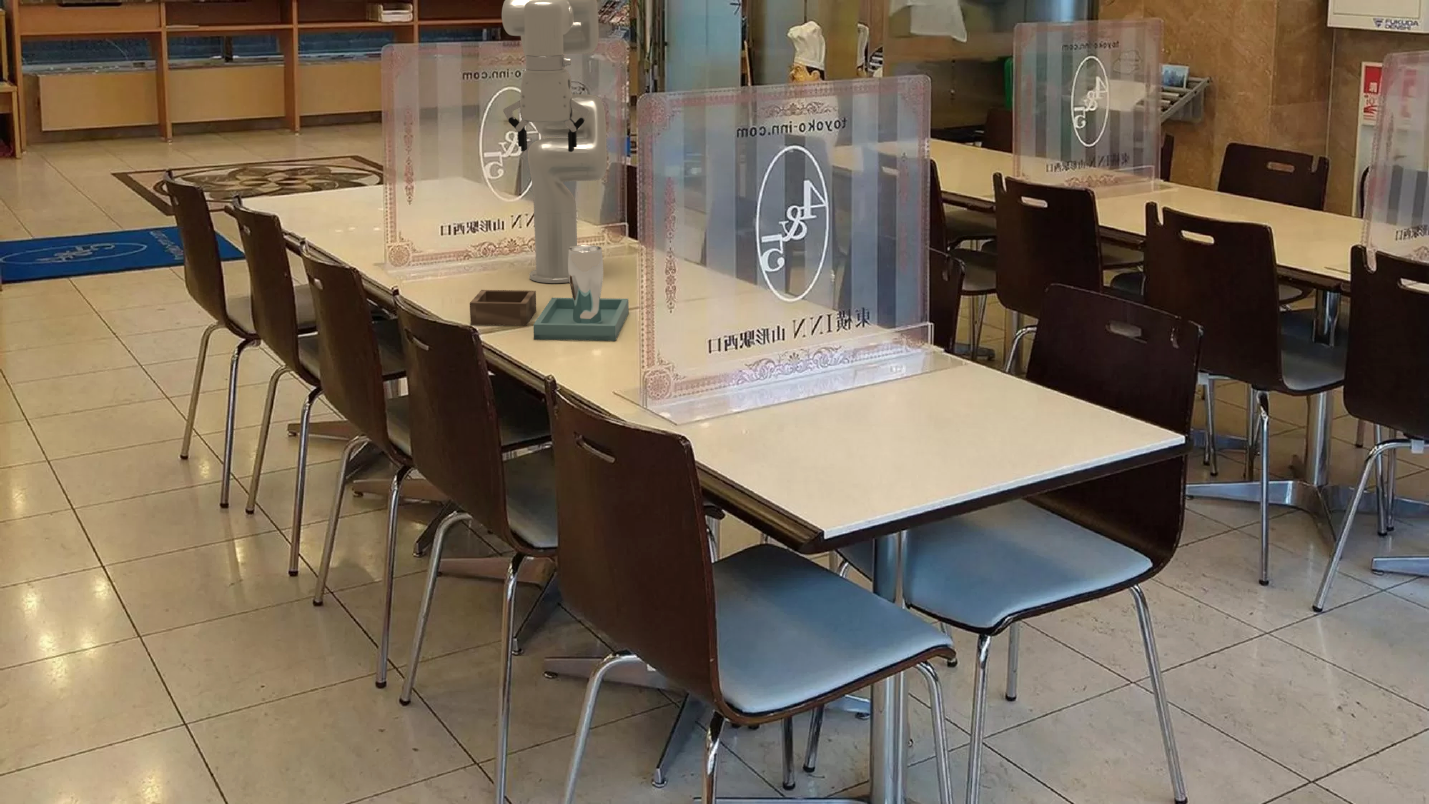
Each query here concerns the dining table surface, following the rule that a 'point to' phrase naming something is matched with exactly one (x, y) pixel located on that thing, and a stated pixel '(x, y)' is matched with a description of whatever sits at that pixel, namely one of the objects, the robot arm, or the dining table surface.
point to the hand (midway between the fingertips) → (547, 150)
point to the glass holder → (503, 307)
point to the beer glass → (586, 283)
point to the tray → (560, 327)
